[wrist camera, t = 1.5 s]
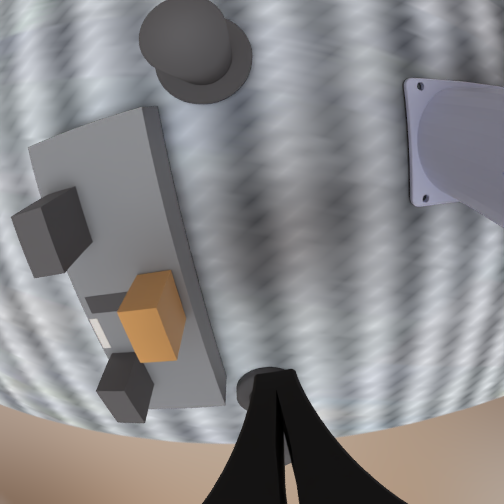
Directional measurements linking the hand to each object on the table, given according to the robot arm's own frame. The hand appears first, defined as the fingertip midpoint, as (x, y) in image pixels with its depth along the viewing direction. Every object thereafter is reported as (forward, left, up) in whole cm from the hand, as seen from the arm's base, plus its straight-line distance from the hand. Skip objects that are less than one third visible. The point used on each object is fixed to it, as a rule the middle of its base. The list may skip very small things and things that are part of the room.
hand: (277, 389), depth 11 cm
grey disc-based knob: (+1, -12, -10) cm, 16 cm away
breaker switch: (+6, 0, -7) cm, 9 cm away
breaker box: (+8, 0, -10) cm, 13 cm away
